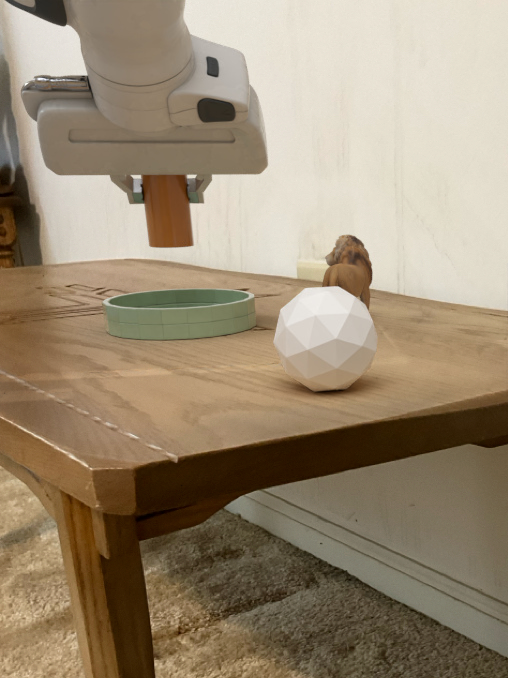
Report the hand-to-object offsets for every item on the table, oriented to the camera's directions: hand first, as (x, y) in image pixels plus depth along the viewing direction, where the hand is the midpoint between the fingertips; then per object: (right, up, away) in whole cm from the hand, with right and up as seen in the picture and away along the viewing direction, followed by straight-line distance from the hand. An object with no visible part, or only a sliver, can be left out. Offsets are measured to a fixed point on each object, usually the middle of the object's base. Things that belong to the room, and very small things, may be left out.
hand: (167, 198), depth 84 cm
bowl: (0, -12, +5) cm, 13 cm away
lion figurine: (+17, -11, +7) cm, 22 cm away
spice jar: (0, -4, +1) cm, 4 cm away
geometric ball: (+18, -22, -19) cm, 34 cm away
